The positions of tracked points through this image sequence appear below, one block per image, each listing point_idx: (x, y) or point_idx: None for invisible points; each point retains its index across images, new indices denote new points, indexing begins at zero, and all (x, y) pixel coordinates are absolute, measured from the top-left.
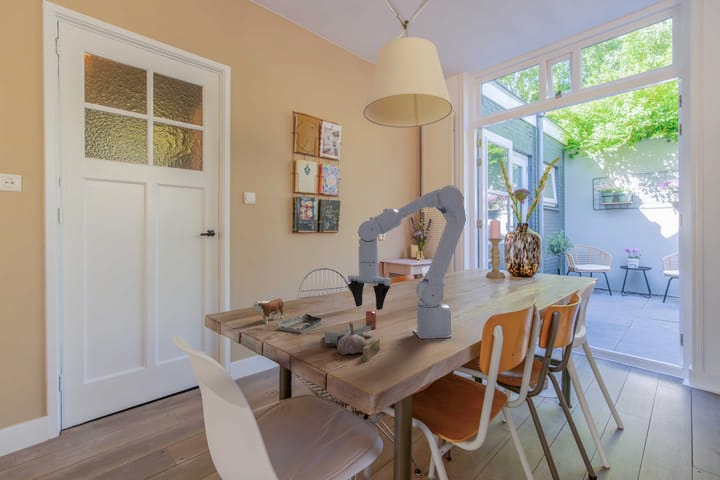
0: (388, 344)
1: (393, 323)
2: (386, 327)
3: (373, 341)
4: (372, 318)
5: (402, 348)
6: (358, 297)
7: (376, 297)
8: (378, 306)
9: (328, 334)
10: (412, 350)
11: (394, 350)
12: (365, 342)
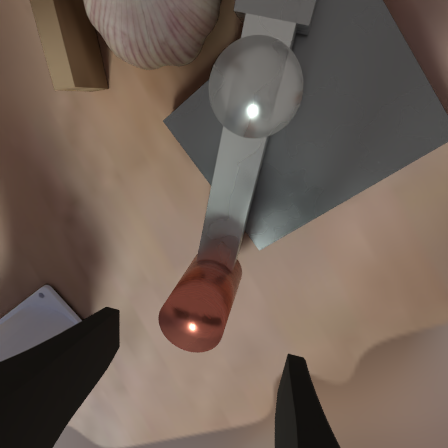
0: (104, 180)
1: (222, 421)
2: (221, 371)
3: (48, 26)
4: (178, 284)
5: (41, 161)
6: (286, 432)
7: (40, 361)
8: (86, 318)
9: (415, 116)
10: (5, 158)
11: (49, 124)
12: (84, 3)
